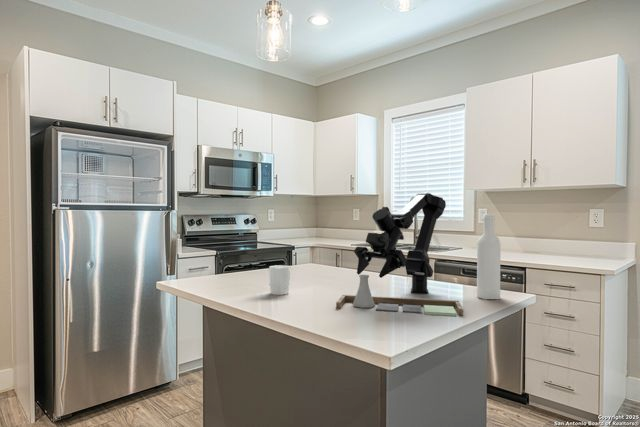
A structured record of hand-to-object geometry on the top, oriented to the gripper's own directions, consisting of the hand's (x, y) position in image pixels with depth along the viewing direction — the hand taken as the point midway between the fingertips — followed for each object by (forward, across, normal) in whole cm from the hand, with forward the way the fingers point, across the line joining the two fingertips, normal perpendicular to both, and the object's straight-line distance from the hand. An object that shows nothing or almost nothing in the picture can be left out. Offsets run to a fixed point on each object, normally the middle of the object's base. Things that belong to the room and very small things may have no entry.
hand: (368, 275), depth 136 cm
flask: (+9, 0, +5) cm, 10 cm away
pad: (+1, +21, +13) cm, 25 cm away
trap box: (+4, +9, +9) cm, 14 cm away
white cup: (+13, -35, +1) cm, 37 cm away
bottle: (-22, +23, +35) cm, 47 cm away
